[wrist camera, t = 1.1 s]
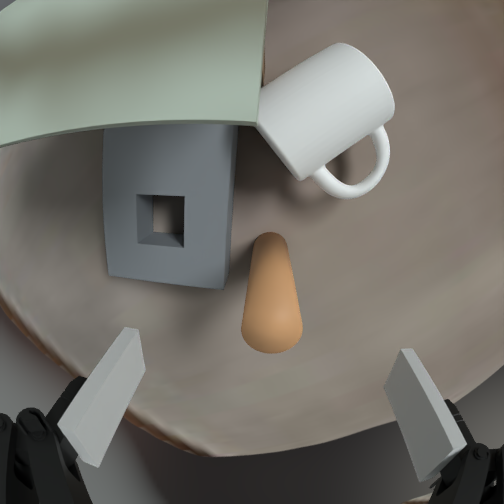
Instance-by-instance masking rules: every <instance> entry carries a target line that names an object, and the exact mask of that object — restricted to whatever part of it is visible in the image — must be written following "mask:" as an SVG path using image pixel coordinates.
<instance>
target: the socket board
mask: <svg viewBox="0 0 504 504" xmlns="http://www.w3.org/2000/svg"><path fill="white" fill-rule="evenodd" d="M238 128H239V125H225V124H160V125H140V126H126V127H115V128H105V129H104V136H103V162H102V191H103V218H104V234H105V246H106V256H107V265H108V273H109V275H110V276H117V277H124V278H131V279H138V280H145V281H153V282H160V283H168V284H177V285H185V286H193V287H202V288H211V289H221V290H224V287H225V284H226V281H227V277H228V274H229V264H230V246H231V228H232V212H233V196H234V182H235V167H236V154H237V141H238ZM153 195H170V196H185V207H184V234H173V233H160V232H153Z"/></svg>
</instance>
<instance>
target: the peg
mask: <svg viewBox="0 0 504 504" xmlns="http://www.w3.org/2000/svg"><path fill="white" fill-rule="evenodd" d="M302 330H303V326H302V320H301V315H300V309H299V304H298V299H297V293H296V288H295V283H294V278H293V273H292V268H291V263H290V258H289V253H288V248H287V243H286V241H285V239H284V238H283V237H282V236H281V235H279V234H277V233H274V232H267V233H264V234H262V235H260V236H259V237H258V238H257V239H256V241H255V243H254V246H253V253H252V260H251V266H250V273H249V280H248V286H247V293H246V300H245V306H244V313H243V320H242V326H241V332H242V336H243V338H244V340H245V341H246V343H247V344H248V345H249V346H250V347H252V348H253V349H255V350H257V351H260V352H263V353H280V352H284V351H286V350H288V349H290V348H291V347H293V346H294V345H295V344H296V343H297V342H298V341H299V339H300V337H301V335H302Z"/></svg>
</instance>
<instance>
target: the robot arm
mask: <svg viewBox="0 0 504 504" xmlns="http://www.w3.org/2000/svg"><path fill="white" fill-rule="evenodd" d="M145 371H146V369H145V364H144V359H143V353H142V347H141V342H140V336H139V330H138V329H133V328H128V327H125V328H124V329H123V330H122V332H121V333H120V334H119V336H118V337H117V338H116V340H115V341H114V342H113V344H112V345H111V346H110V348H109V349H108V351H107V352H106V353H105V355H104V356H103V357H102V359H101V360H100V362H99V363H98V364H97V366H96V367H95V369H94V370H93V371H92V373H91V374H90V376H89V377H88V379H87V378H84V377H81V376H79V377H77V378H76V379H74V380H73V381H71V382H70V383H69V385H68V386H67V387H66V389H65V391H64V392H63V393H62V395H61V397H60V398H59V399H58V400H57V401H56V403H55V404H54V406H53V407H52V409H51V410H50V412H49V413H48V414H47V416H46V417H45V416H44V414H43V413H42V412H41V411H40V410H39V409H36V408H26V409H23V410H22V411H21V412H20V413H19V414H18V416H17V418H16V423H13V421H12V420H11V419H10V417H9V416H8V415H6V414H3V413H0V504H93V503H92V501H91V499H90V497H89V494H88V492H87V489H86V486H85V484H84V481H83V479H82V476H81V473H80V470H79V467H78V464H77V462H76V458H77V456H78V455H79V457H81V459H82V461H84V462H86V463H89V464H91V465H93V466H96V467H99V465H100V463H101V461H102V459H103V456H104V455H105V452H106V450H107V448H108V446H109V444H110V442H111V439H112V437H113V435H114V433H115V431H116V429H117V427H118V425H119V423H120V421H121V419H122V417H123V415H124V413H125V410H126V408H127V406H128V404H129V402H130V400H131V398H132V396H133V394H134V392H135V390H136V388H137V386H138V384H139V382H140V381H141V379H142V377H143V375H144V373H145ZM384 389H385V392H386V394H387V396H388V399H389V401H390V404H391V406H392V409H393V411H394V414H395V416H396V419H397V421H398V424H399V426H400V429H401V432H402V434H403V437H404V440H405V443H406V445H407V448H408V451H409V454H410V456H411V459H412V462H413V465H414V468H415V471H416V474H417V477H418V480H419V482H422V481H425V480H428V479H431V478H433V477H434V476H436V475H437V474H438V473H439V472H440V473H441V477H440V478H439V479H437V480H436V481H435V482H434V483H433V484H432V485H431V486H430V488H432V487H434V486H435V485H436V486H435V489H434V491H433V494H432V496H431V498H430V500H429V502H428V504H504V444H503V446H502V447H501V448H500V449H488V447H487V446H485V445H484V444H481V443H476V442H475V441H474V439H473V437H472V435H471V433H470V431H469V429H468V428H467V426H466V424H465V422H464V421H463V418H462V417H461V415H459V411H458V410H457V408H456V406H455V405H454V404H453V403H452V402H451V401H450V400H449V399H446V400H443V398H442V396H441V395H440V393H439V391H438V389H437V388H436V386H435V384H434V383H433V381H432V379H431V378H430V376H429V374H428V373H427V371H426V369H425V368H424V366H423V364H422V363H421V361H420V360H419V358H418V356H417V355H416V353H415V352H414V350H413V349H401V350H400V352H399V354H398V357H397V359H396V361H395V363H394V366H393V368H392V370H391V372H390V374H389V377H388V379H387V381H386V383H385V385H384ZM495 480H496V485H495V486H494V481H495Z"/></svg>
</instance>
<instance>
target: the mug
mask: <svg viewBox="0 0 504 504" xmlns="http://www.w3.org/2000/svg"><path fill="white" fill-rule="evenodd" d="M394 109H395V107H394V100H393V96H392V93H391V90H390V88H389V86H388V84H387V82H386V80H385V79H384V77H383V75H382V74H381V72H380V71H379V70H378V68H377V67H376V66H375V65H374V64H373V63H372V61H371V60H370V59H369V58H367V57H366V56H365V55H364V54H363V53H362V52H360V51H359V50H357V49H356V48H354V47H352V46H350V45H348V44H344V43H335V44H333V45H331V46H329V47H327V48H326V49H324V50H322V51H320V52H319V53H317V54H315V55H313V56H312V57H310V58H308V59H306V60H305V61H303V62H301V63H300V64H298V65H296V66H295V67H293V68H292V69H290V70H288V71H287V72H285V73H284V74H282V75H281V76H279V77H278V78H276V79H274V80H273V81H271V82H270V83H268V84H267V85H266V86H264V87H263V88H261V91H260V103H259V115H258V126H254V127H255V128H256V129H257V130H258V132H259V133H260V134H261V135H262V137H263V138H264V139H265V141H266V142H267V143H268V144H269V146H270V147H271V148H272V149H273V151H274V152H275V153H276V155H277V156H278V157H279V158H280V160H281V161H282V162H283V163H284V165H285V166H286V167H287V168H288V170H289V171H290V172H291V173H292V175H293V176H294V177H295V178H296V179H297V180H298V181H302V180H304V179H305V178H306V177H311V179H312V180H313V181H314V182H315V183H316V184H317V185H318V186H319V187H320V188H321V189H322V190H324V191H325V192H326V193H328V194H329V195H331V196H333V197H336V198H339V199H353V198H357V197H360V196H362V195H364V194H366V193H367V192H369V191H370V190H371V189H372V188H373V187H375V186H376V184H377V183H378V182H379V181H380V179H381V178H382V176H383V175H384V173H385V171H386V168H387V166H388V162H389V157H390V145H389V140H388V137H387V134H386V131H385V129H384V127H383V125H384V123H386V122H387V121H389V120H390V119H391V118H392V117H393V115H394ZM367 135H369V136H370V137H371V139H372V141H373V144H374V147H375V150H376V156H377V160H376V164H375V167H374V169H373V170H372V172H371V173H370V174H369V175H368V176H367V177H366V178H365V179H364V180H363V181H361V182H360V183H358V184H356V185H352V186H350V185H346V184H344V183H342V182H340V181H339V180H337V179H336V178H335V177H334V176H333V175H332V174H331V173H330V172H329V171H328V170H327V169H326V167H325V164H326V163H328V162H329V161H330V160H332V159H333V158H335V157H336V156H338V155H339V154H340V153H342V152H343V151H345V150H346V149H348V148H349V147H351V146H352V145H353V144H355V143H356V142H358V141H359V140H361V139H362V138H364V137H365V136H367Z"/></svg>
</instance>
